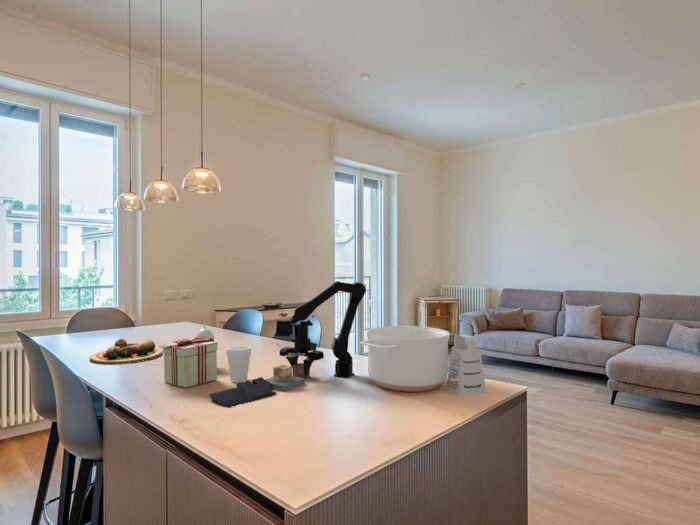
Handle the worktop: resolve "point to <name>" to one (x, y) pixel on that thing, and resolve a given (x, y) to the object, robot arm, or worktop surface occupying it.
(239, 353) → the foam cup
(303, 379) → the base
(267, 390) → the dark slate chunk
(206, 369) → the gift box
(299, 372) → the walnut block
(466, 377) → the grater
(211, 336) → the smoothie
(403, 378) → the pot
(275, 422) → the worktop surface
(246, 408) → the worktop surface
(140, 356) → the wooden plate with food
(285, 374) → the oak block
